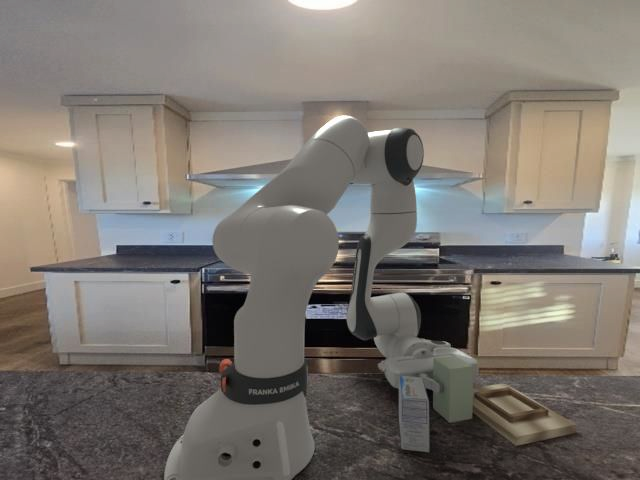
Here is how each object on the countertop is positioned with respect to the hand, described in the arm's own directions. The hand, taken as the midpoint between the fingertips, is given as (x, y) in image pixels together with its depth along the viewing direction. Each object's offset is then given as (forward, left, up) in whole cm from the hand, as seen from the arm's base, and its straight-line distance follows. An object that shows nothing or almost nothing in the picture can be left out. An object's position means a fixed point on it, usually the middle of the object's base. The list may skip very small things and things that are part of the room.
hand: (455, 387), depth 58 cm
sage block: (0, +1, -6) cm, 6 cm away
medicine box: (-11, -3, -6) cm, 13 cm away
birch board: (+11, -2, -6) cm, 12 cm away
